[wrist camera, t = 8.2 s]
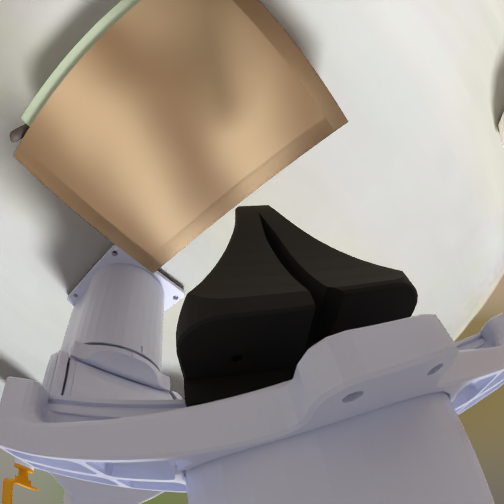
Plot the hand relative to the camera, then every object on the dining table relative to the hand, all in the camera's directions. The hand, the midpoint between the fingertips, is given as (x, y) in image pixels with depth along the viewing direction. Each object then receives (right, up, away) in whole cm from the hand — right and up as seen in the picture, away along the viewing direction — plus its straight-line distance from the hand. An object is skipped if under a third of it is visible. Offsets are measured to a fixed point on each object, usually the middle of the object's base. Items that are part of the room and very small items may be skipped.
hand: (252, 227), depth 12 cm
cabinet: (-5, +8, +5) cm, 11 cm away
